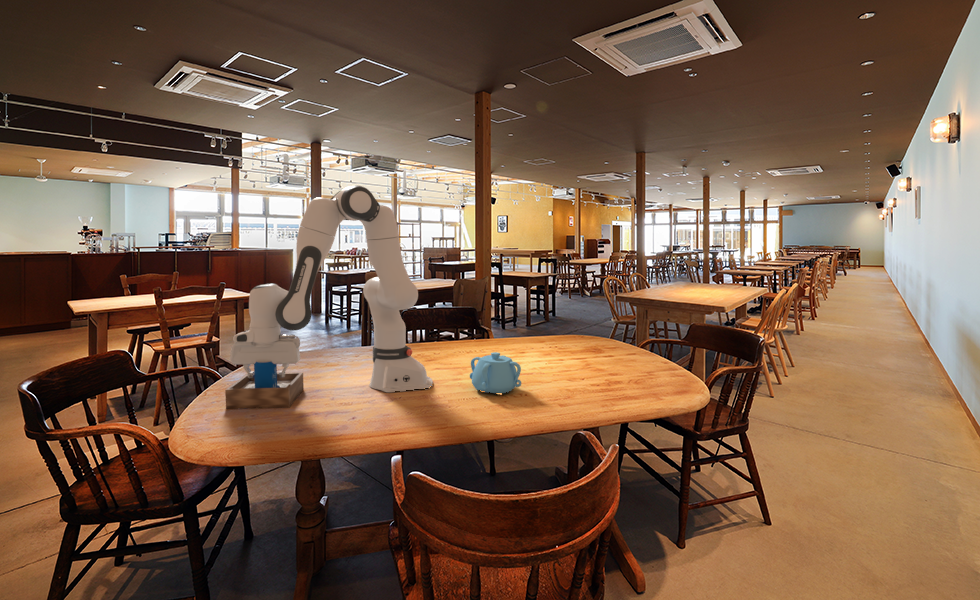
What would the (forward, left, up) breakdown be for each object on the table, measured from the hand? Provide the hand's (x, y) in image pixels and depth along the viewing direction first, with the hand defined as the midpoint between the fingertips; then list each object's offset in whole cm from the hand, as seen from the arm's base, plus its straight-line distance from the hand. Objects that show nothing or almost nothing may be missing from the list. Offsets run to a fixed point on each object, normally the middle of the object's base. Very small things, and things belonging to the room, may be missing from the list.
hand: (266, 377), depth 148 cm
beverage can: (0, 0, -6) cm, 6 cm away
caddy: (0, 0, -7) cm, 7 cm away
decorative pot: (-75, -4, -7) cm, 75 cm away
